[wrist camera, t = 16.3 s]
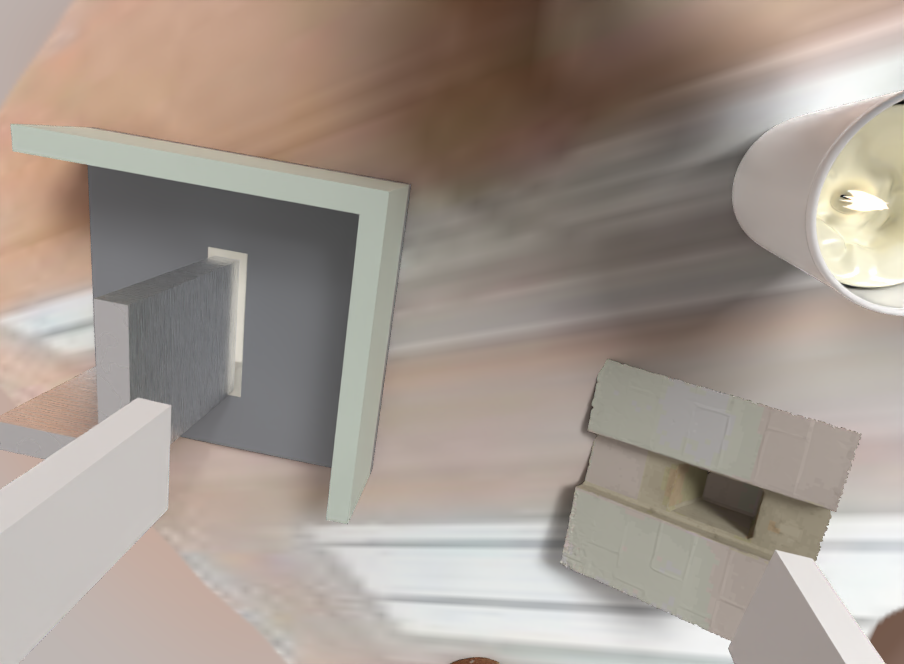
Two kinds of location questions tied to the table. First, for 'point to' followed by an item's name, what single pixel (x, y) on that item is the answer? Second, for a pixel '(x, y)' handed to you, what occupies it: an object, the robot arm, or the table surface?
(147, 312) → the angle bracket
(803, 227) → the candle holder
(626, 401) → the wall
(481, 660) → the bread roll
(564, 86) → the table surface
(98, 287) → the corner tray
